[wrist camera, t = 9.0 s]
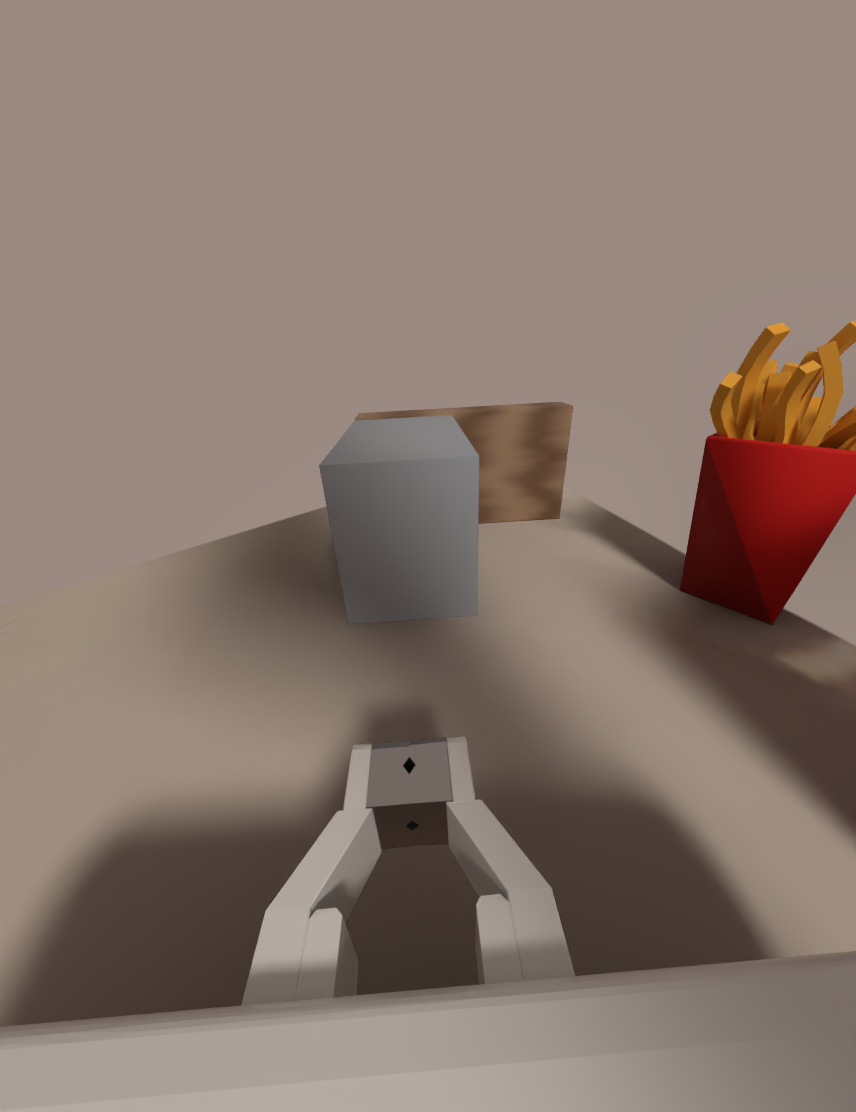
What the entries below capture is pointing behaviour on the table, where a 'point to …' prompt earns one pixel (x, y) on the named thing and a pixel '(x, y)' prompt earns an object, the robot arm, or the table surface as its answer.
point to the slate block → (404, 518)
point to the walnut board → (512, 455)
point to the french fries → (771, 477)
